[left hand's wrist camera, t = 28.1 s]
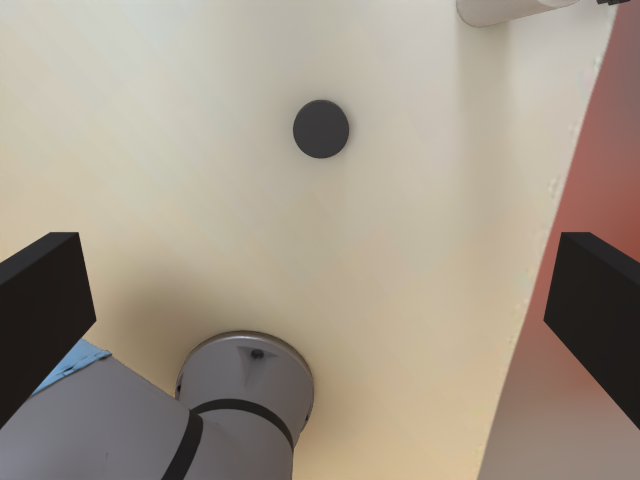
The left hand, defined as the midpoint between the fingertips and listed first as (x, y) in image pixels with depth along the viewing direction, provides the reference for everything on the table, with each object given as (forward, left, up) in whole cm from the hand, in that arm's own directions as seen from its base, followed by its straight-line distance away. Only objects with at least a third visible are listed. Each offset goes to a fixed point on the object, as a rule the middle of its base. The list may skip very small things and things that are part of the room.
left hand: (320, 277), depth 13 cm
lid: (0, 0, -29) cm, 29 cm away
